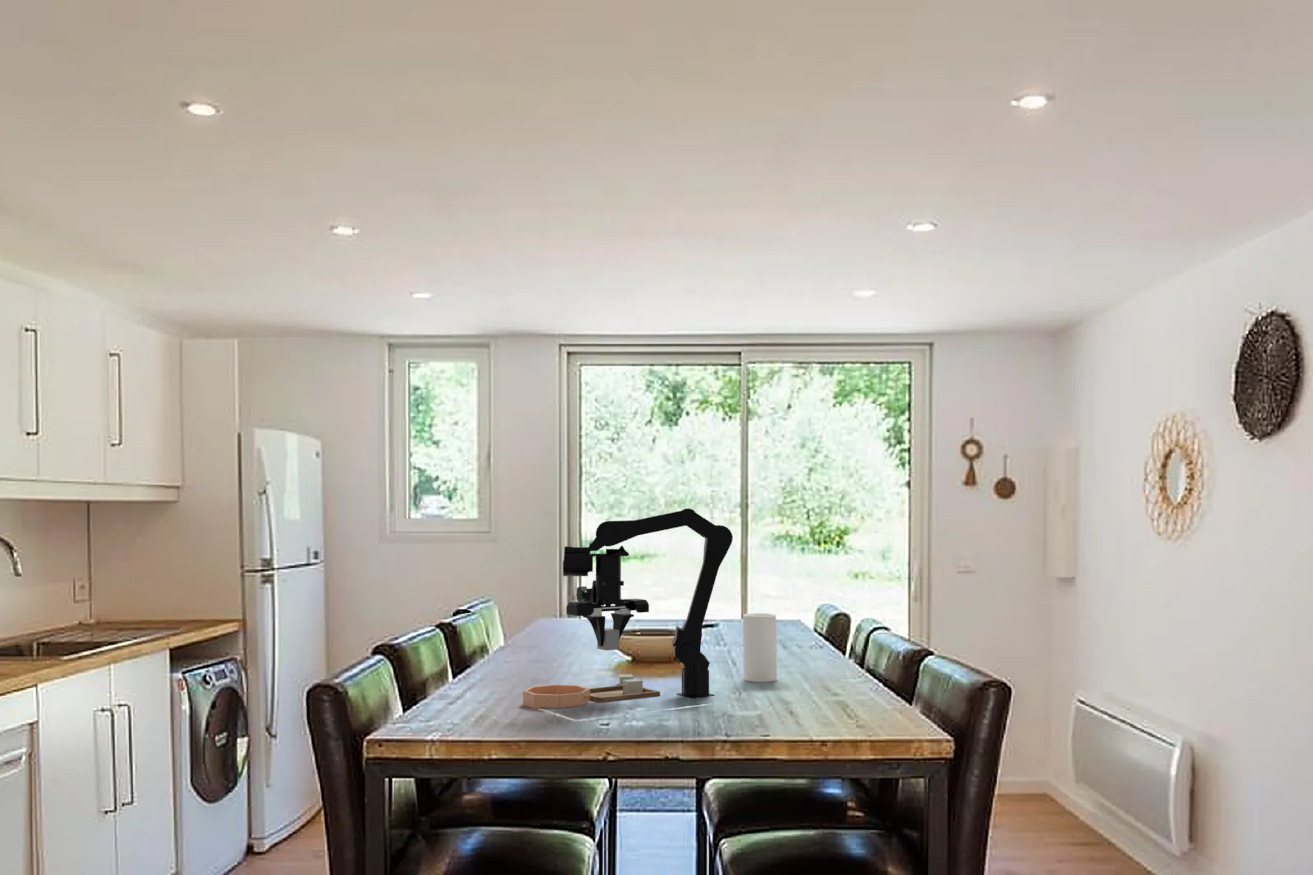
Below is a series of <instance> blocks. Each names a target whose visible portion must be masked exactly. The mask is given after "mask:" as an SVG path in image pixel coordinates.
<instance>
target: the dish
mask: <svg viewBox="0 0 1313 875" xmlns="http://www.w3.org/2000/svg"><path fill="white" fill-rule="evenodd" d="M590 701H591V700H590V689H589V688H588V687H586V686H582V685H578V684H546V685H545V684H544V685H539V686H530V687H528V688H527V689H525V690H523V691H522V706H525V707H527V708H531V709H534V710H545V708H556V709H557V708H558V709H559V708H567V707H569V708H570V707H575V706H577V707H578V706H584V705H585V704H587V703H589V702H590Z"/></svg>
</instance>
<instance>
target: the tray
mask: <svg viewBox="0 0 1313 875" xmlns="http://www.w3.org/2000/svg"><path fill="white" fill-rule="evenodd" d="M589 689H590V701H593V702H596V703H607V702H616V701H625V700H627V701H628V700H633V699H643V698H652V697H660V696H661V690H660V691H659V690H655V689H651V688H648V687H644V686H643V693H635V694H624V693H623V685H619V684H617V685H612V686H602V687H601V686H600V687H591V688H589Z"/></svg>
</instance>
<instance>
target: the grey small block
mask: <svg viewBox="0 0 1313 875" xmlns="http://www.w3.org/2000/svg"><path fill="white" fill-rule="evenodd" d="M643 685H644V682H643V680H642V679H639V678H633V679H629V680H623V693H624V694H635V693H643V687H644V686H643Z"/></svg>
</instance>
